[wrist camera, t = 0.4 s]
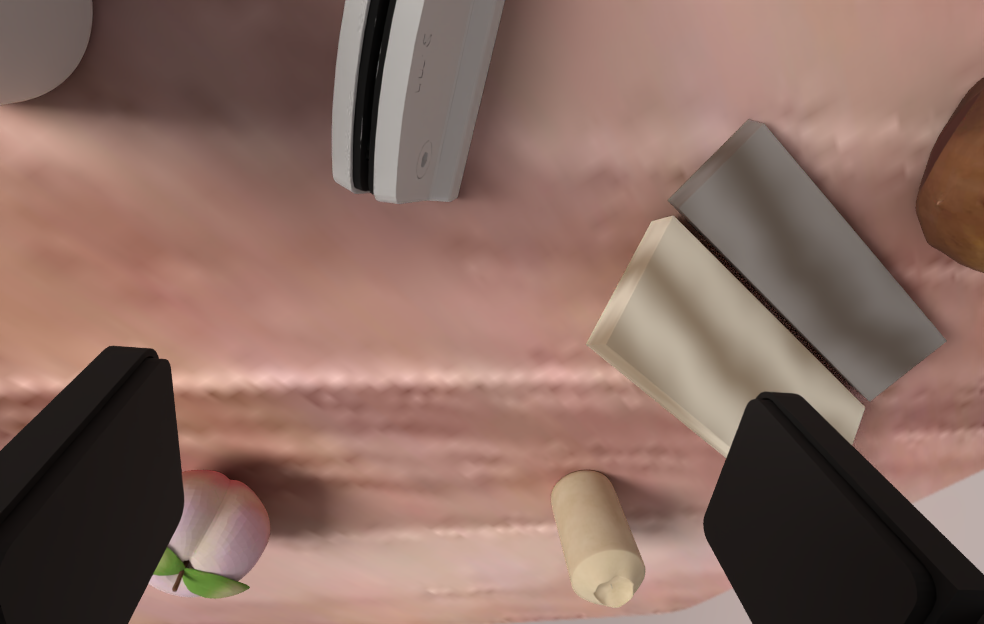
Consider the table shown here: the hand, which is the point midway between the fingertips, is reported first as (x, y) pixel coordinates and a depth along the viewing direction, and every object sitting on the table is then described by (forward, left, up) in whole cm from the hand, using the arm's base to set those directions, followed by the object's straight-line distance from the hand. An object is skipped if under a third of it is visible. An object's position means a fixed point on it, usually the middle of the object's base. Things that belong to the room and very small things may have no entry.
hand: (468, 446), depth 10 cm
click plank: (-1, +26, -27) cm, 37 cm away
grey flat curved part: (-3, -4, -31) cm, 31 cm away
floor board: (-10, +26, -30) cm, 41 cm away
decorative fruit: (+32, +4, -30) cm, 44 cm away
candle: (+15, +28, -30) cm, 44 cm away
